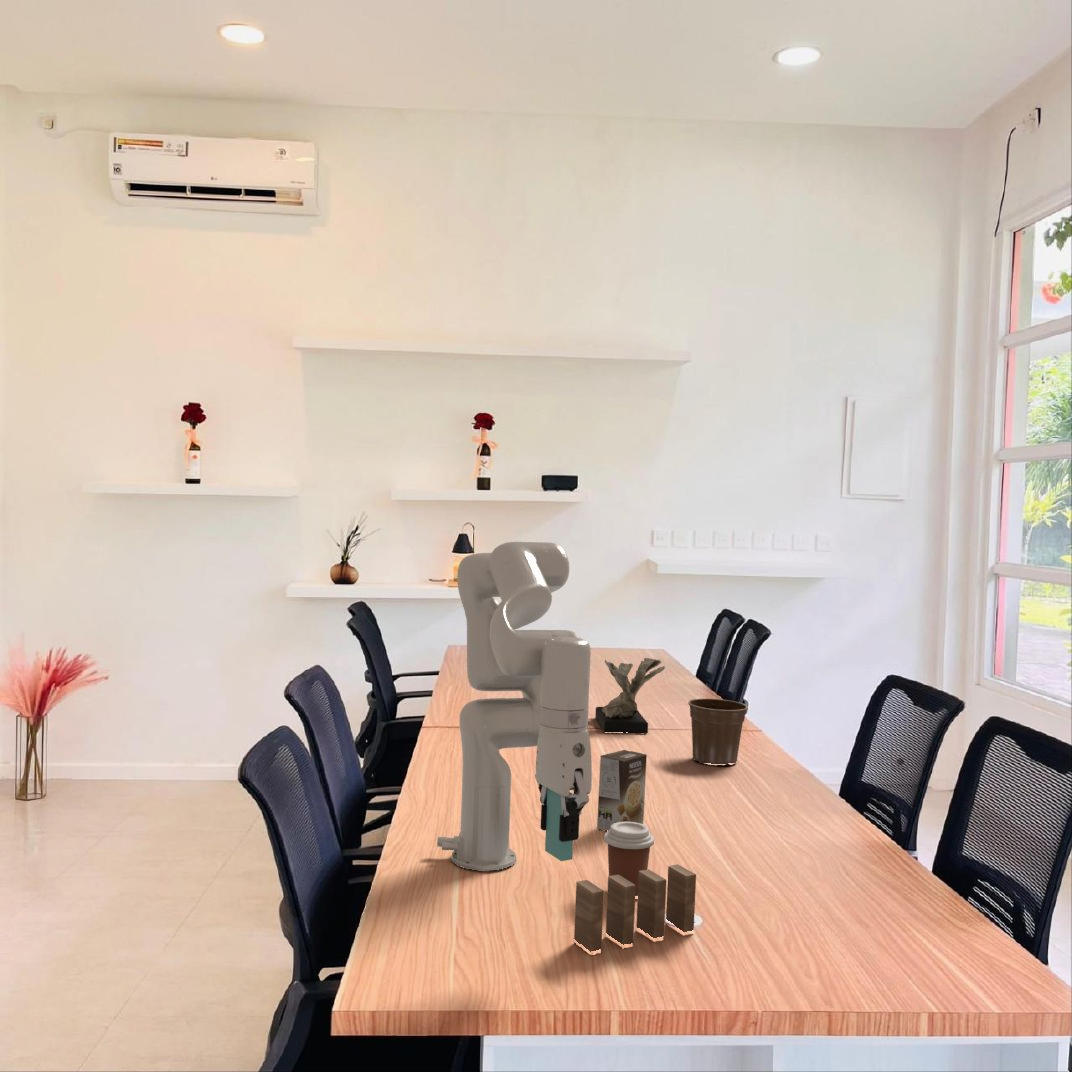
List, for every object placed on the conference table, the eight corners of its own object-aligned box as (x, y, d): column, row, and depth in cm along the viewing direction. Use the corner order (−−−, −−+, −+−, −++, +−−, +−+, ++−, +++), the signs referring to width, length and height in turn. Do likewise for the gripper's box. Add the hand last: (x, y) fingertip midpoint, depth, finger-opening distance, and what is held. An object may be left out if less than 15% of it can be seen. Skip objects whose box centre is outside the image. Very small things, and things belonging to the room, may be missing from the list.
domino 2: (622, 949, 162) (625, 887, 162) (605, 936, 166) (608, 876, 166) (633, 947, 163) (635, 885, 163) (615, 934, 167) (618, 874, 167)
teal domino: (561, 861, 156) (563, 796, 155) (545, 850, 160) (547, 787, 160) (572, 859, 157) (574, 794, 156) (556, 849, 161) (558, 786, 161)
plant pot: (742, 756, 291) (744, 699, 290) (748, 770, 275) (751, 711, 274) (684, 752, 293) (686, 696, 292) (687, 767, 276) (689, 707, 276)
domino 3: (653, 942, 165) (656, 881, 164) (636, 930, 169) (638, 871, 169) (663, 940, 166) (666, 879, 165) (646, 928, 170) (648, 869, 170)
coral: (594, 716, 338) (596, 651, 338) (655, 717, 339) (658, 653, 338) (601, 733, 313) (604, 663, 313) (667, 735, 314) (670, 665, 313)
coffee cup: (620, 879, 192) (623, 816, 192) (661, 892, 186) (664, 827, 186) (591, 892, 185) (594, 827, 184) (633, 907, 179) (636, 839, 179)
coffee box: (620, 836, 217) (623, 761, 216) (596, 829, 221) (599, 755, 220) (644, 826, 224) (647, 754, 223) (620, 820, 228) (623, 748, 227)
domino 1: (590, 956, 159) (593, 892, 159) (573, 943, 163) (576, 881, 163) (601, 953, 160) (603, 890, 160) (584, 941, 164) (587, 879, 164)
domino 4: (683, 936, 168) (686, 876, 167) (665, 924, 172) (668, 866, 172) (693, 934, 169) (696, 874, 168) (675, 922, 173) (677, 864, 173)
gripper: (614, 727, 152) (609, 848, 152) (557, 705, 167) (553, 816, 167) (570, 731, 148) (566, 855, 149) (516, 708, 163) (512, 821, 164)
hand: (559, 833), depth 158 cm, fingers closed on teal domino, 4 cm apart
